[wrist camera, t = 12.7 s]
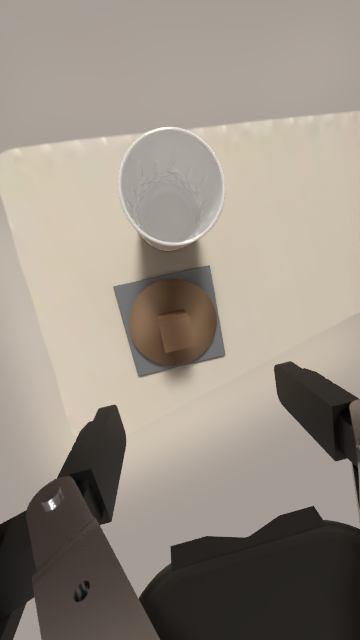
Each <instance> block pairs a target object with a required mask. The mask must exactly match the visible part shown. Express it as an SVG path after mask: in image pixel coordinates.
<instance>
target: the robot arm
mask: <svg viewBox="0 0 360 640" xmlns="http://www.w3.org/2000/svg"><path fill="white" fill-rule="evenodd" d="M274 372H275V380H276V388H277V395H278V397H279V400H280V402H281V404H282V405H283V406H284V407H285V408H286V409H287V411H288V412H289V413H290V414H291V415H292V416H293V417H294V418H295V419H296V420H297V421H298V422H299V423H300V424H301V425H302V426H303V428H304V429H305V430H306V431H307V432H308V433H309V434H310V435H311V436H312V437H313V438H314V439H315V440H316V441H317V442H318V443H319V445H320V446H321V447H322V448H323V449H324V450H325V451H326V452H327V453H328V454H329V455H330V456H331V457H332V458H333V459H334V460H335V461H339V460H343V459H346V458H348V459H349V460H350V461H351V462H352V472H353V479H354V486H355V493H356V500H357V506H358V513H359V520H360V399H359V398H357V397H355V396H354V395H352V394H351V393H349V392H347V391H346V390H344V389H342V388H341V387H339V386H338V385H336V384H333V383H332V382H331V381H330V380H328V379H325V377H323V376H322V375H320V374H319V373H317V372H314V371H311V370H308V369H305V368H304V369H302V368H300V367H299V366H297V365H296V364H294V363H293V362H285V363H281V364H277V365H275V367H274ZM125 447H126V434H125V430H124V427H123V424H122V421H121V418H120V414H119V411H118V408H117V406H116V405H111V406H107V407H103V408H99V409H98V411H97V413H96V416H95V418H94V420H93V421H91V422H88V424H87V425H86V426H85V427H84V428H83V429H82V430H81V431H80V433H79V435H78V437H77V439H76V442H75V443H74V445H73V447H72V450H71V451H70V453H69V455H68V457H67V459H66V461H65V463H64V465H63V467H62V469H61V471H60V473H59V475H58V477H57V479H55V480H53V481H51V482H50V483H48V484H47V485H45V486H44V487H43V488H42V489H41V490H40V491H39V492H38V493H37V494H36V495H35V496H34V497H33V499H32V500H31V502H30V503H29V505H28V507H27V510H26V511H24V512H22V513H21V514H19V515H17V516H15V517H13V518H11V519H9V520H7V521H6V522H4V523H2V524H0V640H13V638H14V635H15V632H16V630H17V627H18V624H19V622H20V619H21V616H22V613H23V611H24V608H25V605H26V602H28V601H29V600H31V599H32V598H34V597H35V602H36V609H37V614H38V621H39V626H40V633H41V639H42V640H360V529H358V528H356V527H353V526H350V525H347V524H344V523H340V522H335V521H329V520H323V519H322V518H321V517H320V515H319V513H318V512H317V510H316V509H315V507H314V506H312V507H308V508H305V509H301V510H298V511H294V512H291V513H287V514H283V515H280V516H278V517H277V518H275V519H274V520H272V521H271V522H269V523H268V524H267V525H265V526H264V527H262V528H261V529H259V530H258V531H257V532H255V533H254V534H252V535H251V536H249V537H246V538H237V537H213V536H206V537H202V538H199V539H195V540H192V541H188V542H185V543H181V544H177V545H174V546H171V564H169V565H168V566H166V567H165V568H164V569H163V570H162V571H160V572H159V573H158V574H157V575H156V576H155V578H154V579H153V580H152V581H151V582H150V583H149V584H148V586H147V587H146V588H145V590H144V591H143V592H142V594H141V596H140V597H139V599H138V597H137V595H136V593H135V591H134V589H133V587H132V585H131V583H130V582H129V580H128V578H127V576H126V574H125V572H124V571H123V568H122V566H121V565H120V563H119V561H118V559H117V557H116V555H115V553H114V551H113V549H112V548H111V546H110V544H109V542H108V540H107V538H106V536H105V534H104V533H103V530H102V529H101V527H100V525H101V524H105V523H109V522H111V521H112V516H113V511H114V506H115V500H116V495H117V490H118V484H119V479H120V474H121V469H122V463H123V459H124V452H125Z"/></svg>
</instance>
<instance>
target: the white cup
mask: <svg viewBox="0 0 360 640" xmlns="http://www.w3.org/2000/svg"><path fill="white" fill-rule="evenodd" d="M118 193H119V199H120V203H121V206H122V208H123V211H124V213H125V215H126V217H127V219H128V220H129V222H130V223H131V224H132V226H133V227H134V228H135V229H136V231H137V232H138V233H139V235H140V236H141V237H142V238H143V239H144V240H145V241H146V242H147V243H148V244H150V245H151V246H153V247H155V248H156V249H158V250H165V251H173V250H178V249H181V248H183V247H186V246H188V245H189V244H191V243H193V242H195V241H196V240H198V239H200V238H201V237H203V236H204V235H205V234H206V233H208V232H209V231H210V229H211V228H212V227H213V226H214V224H215V223H216V221H217V220H218V218H219V216H220V214H221V211H222V208H223V204H224V199H225V179H224V174H223V170H222V167H221V164H220V162H219V160H218V158H217V156H216V154H215V153H214V151H213V150H212V149H211V147H210V146H209V145H208V144H207V143H206V142H205V141H204V140H203V139H201V138H200V137H199V136H197V135H196V134H194V133H192V132H190V131H187V130H185V129H181V128H176V127H163V128H158V129H154V130H151V131H149V132H147V133H145V134H144V135H142V136H141V137H139V138H138V139H137V140H136V141H135V142H134V143H133V144H132V145H131V146H130V148H129V149H128V151H127V152H126V154H125V156H124V158H123V160H122V163H121V166H120V170H119V175H118Z"/></svg>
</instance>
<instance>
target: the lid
mask: <svg viewBox="0 0 360 640" xmlns="http://www.w3.org/2000/svg"><path fill="white" fill-rule="evenodd" d="M216 327H217V315H216V311H215V307H214V305H213V303H212V301H211V299H210V298H209V296H208V295H207V294H206V293H205V292H204V291H203V290H202V289H201V288H200V287H198V286H197V285H195V284H193V283H191V282H188V281H185V280H180V279H166V280H161V281H158V282H156V283H153V284H152V285H150V286H148V287H147V288H146V289H144V290H143V291H142V292H141V293H140V294H139V295H138V297H137V298H136V300H135V301H134V303H133V305H132V308H131V310H130V315H129V331H130V335H131V338H132V340H133V342H134V344H135V346H136V347H137V349H138V350H139V351H140V352H141V353H142V354H143V355H144V356H145V357H147V358H148V359H150V360H152V361H154V362H156V363H159V364H163V365H181V364H185V363H188V362H190V361H193V360H194V359H196V358H198V357H199V356H200V355H202V354H203V353H204V352H205V351H206V350H207V348H208V347H209V346H210V344H211V342H212V340H213V338H214V336H215V332H216Z"/></svg>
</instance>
